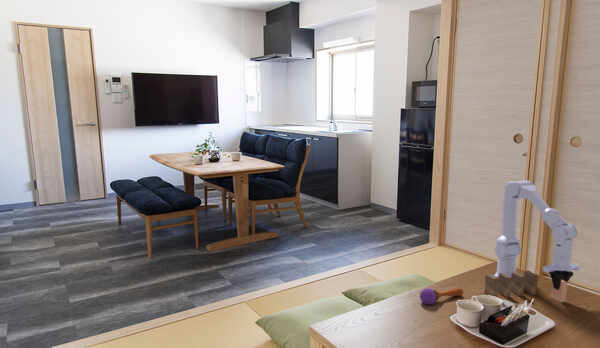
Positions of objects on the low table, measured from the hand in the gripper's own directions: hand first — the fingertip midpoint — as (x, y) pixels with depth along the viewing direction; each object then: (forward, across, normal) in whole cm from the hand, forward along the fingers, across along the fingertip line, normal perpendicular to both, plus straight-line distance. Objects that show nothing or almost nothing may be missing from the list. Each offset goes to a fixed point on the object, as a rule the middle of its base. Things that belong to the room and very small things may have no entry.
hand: (558, 288), depth 162 cm
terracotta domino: (+4, 0, 0) cm, 4 cm away
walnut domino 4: (+4, -6, +8) cm, 11 cm away
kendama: (+5, -46, +8) cm, 47 cm away
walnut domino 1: (+4, -24, +8) cm, 26 cm away
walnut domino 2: (+4, -18, +8) cm, 20 cm away
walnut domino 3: (+4, -12, +8) cm, 15 cm away
